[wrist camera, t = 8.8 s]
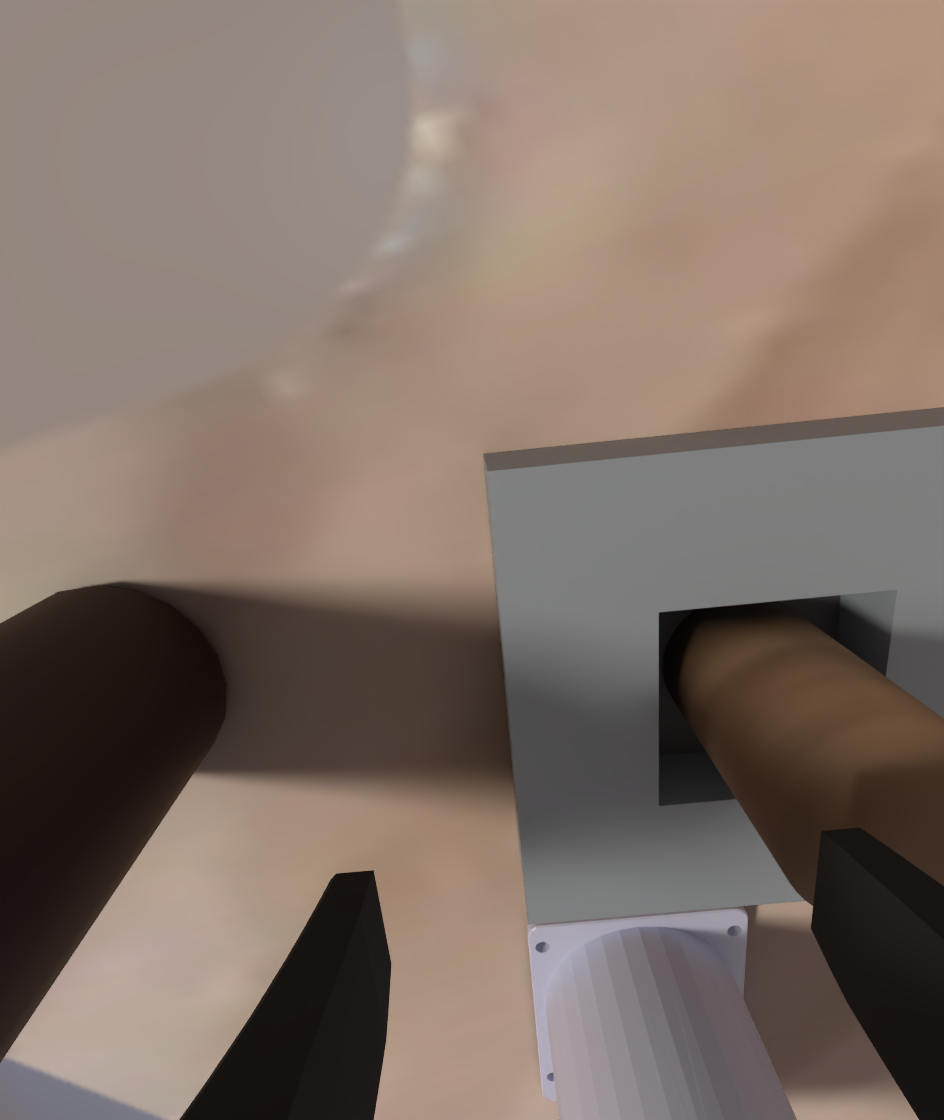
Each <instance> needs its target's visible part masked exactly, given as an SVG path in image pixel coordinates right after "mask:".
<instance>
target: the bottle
mask: <svg viewBox="0 0 944 1120" xmlns="http://www.w3.org/2000/svg"><path fill="white" fill-rule="evenodd" d="M226 685H227V684H226V681H225V678H224V675H223V672H222V669H221V666H220V663H219V660H218V657H217V654H216V653H215V651H214V650H213V649H212V647H211V646H210V644H209V643H208V642H207V640H206V639H205V637H204V636H203V635H202V633H201V632H200V631H199V629H198V628H197V627H196V626H195V625H194V624H192V623H191V622H190V621H189V620H187V619H186V618H185V617H184V616H182V615H181V614H180V613H178V612H177V611H176V610H175V609H173V608H172V607H171V606H170V605H168V604H166V603H163V602H161V601H159V600H156V599H154V598H152V597H149V596H147V595H145V594H142V593H140V592H138V591H135V590H129V589H121V588H114V587H107V586H100V585H98V586H92V587H85V588H79V589H73V590H67V591H60V592H57V593H55V594H54V595H52V596H50V597H48V598H46V599H44V600H42V601H41V602H39V603H37V604H35V605H33V606H31V607H29V608H28V609H26V610H24V611H22V612H20V613H18V614H17V615H15V616H13V617H11V618H9V619H8V620H6V621H4V622H2V623H0V1062H1V1061H2V1059H3V1058H4V1056H5V1055H6V1053H7V1052H8V1050H9V1049H10V1047H11V1046H12V1044H13V1043H14V1041H15V1040H16V1038H17V1037H18V1035H19V1034H20V1032H21V1031H22V1029H23V1028H24V1026H25V1025H26V1023H27V1022H28V1020H29V1019H30V1017H31V1016H32V1014H33V1013H34V1011H35V1010H36V1008H37V1007H38V1005H39V1004H40V1002H41V1001H42V999H43V998H44V996H45V995H46V993H47V992H48V990H49V989H50V987H51V986H52V984H53V983H54V981H55V980H56V978H57V977H58V975H59V974H60V972H61V971H62V969H63V968H64V966H65V965H66V963H67V962H68V960H69V959H70V957H71V956H72V954H73V953H74V951H75V950H76V948H77V947H78V945H79V944H80V942H81V941H82V939H83V938H84V936H85V935H86V933H87V932H88V930H89V929H90V928H91V926H92V925H93V923H94V922H95V920H96V919H97V917H98V916H99V914H100V913H101V911H102V910H103V908H104V907H105V905H106V904H107V902H108V901H109V899H110V898H111V896H112V895H113V893H114V892H115V890H116V889H117V887H118V886H119V884H120V883H121V881H122V880H123V878H124V877H125V875H126V874H127V872H128V871H129V869H130V868H131V866H132V865H133V863H134V862H135V860H136V859H137V857H138V856H139V854H140V853H141V851H142V850H143V848H144V847H145V845H146V844H147V842H148V841H149V839H150V838H151V836H152V835H153V833H154V832H155V830H156V829H157V827H158V826H159V824H160V823H161V821H162V820H163V818H164V817H165V815H166V814H167V812H168V811H169V809H170V808H171V806H172V805H173V803H174V802H175V800H176V799H177V797H178V796H179V794H180V793H181V791H182V790H183V788H184V787H185V785H186V784H187V782H188V781H189V779H190V778H191V776H192V775H193V773H194V772H195V770H196V769H197V767H198V766H199V764H200V763H201V761H202V760H203V758H204V757H205V755H206V754H207V752H208V751H209V749H210V748H211V746H212V745H213V743H214V741H215V739H216V736H217V734H218V732H219V730H220V727H221V725H222V723H223V720H224V718H225V713H226Z"/></svg>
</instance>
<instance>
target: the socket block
mask: <svg viewBox="0 0 944 1120" xmlns="http://www.w3.org/2000/svg"><path fill="white" fill-rule="evenodd" d="M483 456H484V466H485V477H486V488H487V499H488V510H489V521H490V532H491V543H492V554H493V565H494V576H495V586H496V597H497V608H498V619H499V630H500V641H501V652H502V663H503V674H504V685H505V695H506V706H507V717H508V728H509V739H510V750H511V761H512V772H513V783H514V794H515V804H516V815H517V826H518V837H519V848H520V857H521V866H522V874H523V883H524V891H525V900H526V909H527V917H528V925H529V924H541V923H552V922H564V921H576V920H587V919H599V918H610V917H622V916H633V915H645V914H657V913H668V912H680V911H691V910H703V909H715V908H726V907H738V906H749V905H761V904H773V903H784V902H796V901H805V900H804V899H803V898H802V897H801V896H800V895H799V894H798V893H797V892H796V891H795V889H794V888H793V887H792V885H791V884H790V883H789V881H788V879H787V878H786V876H785V875H784V873H783V872H782V870H781V868H780V867H779V865H778V864H777V862H776V861H775V859H774V857H773V856H772V854H771V853H770V851H769V850H768V848H767V846H766V845H765V843H764V842H763V840H762V839H761V837H760V835H759V834H758V832H757V831H756V829H755V828H754V826H753V824H752V823H751V821H750V820H749V818H748V817H747V815H746V813H745V812H744V810H743V809H742V807H741V806H740V804H739V802H738V801H737V799H736V798H735V796H734V795H733V793H732V791H731V790H730V788H729V787H728V785H727V784H726V782H725V780H724V779H723V777H722V776H721V774H720V772H719V771H718V769H717V768H716V766H715V765H714V763H713V761H712V760H711V758H710V757H709V755H708V754H707V752H706V750H705V749H704V747H703V746H702V744H701V743H700V741H699V739H698V738H697V736H696V735H695V733H694V732H693V730H692V728H691V727H690V725H689V724H688V722H687V721H686V719H685V717H684V716H683V714H682V713H681V711H680V710H679V708H678V706H677V705H676V703H675V702H674V700H673V699H672V697H671V695H670V693H669V691H668V689H667V687H666V684H665V681H664V675H663V660H664V654H665V650H666V647H667V644H668V642H669V639H670V638H671V636H672V634H673V632H674V631H675V629H676V628H677V627H678V625H679V624H680V623H681V622H682V621H683V620H684V619H685V618H686V617H687V616H688V615H689V614H690V613H691V612H693V611H694V610H695V609H699V608H710V607H720V606H731V605H741V604H752V603H762V602H773V601H781V602H783V603H784V604H786V605H787V606H789V607H790V608H792V609H793V610H794V611H796V612H797V613H798V614H800V615H801V616H803V617H804V618H805V619H807V620H808V621H810V622H811V623H812V624H814V625H815V626H816V627H818V628H819V629H821V630H822V631H823V632H825V633H826V634H828V635H829V636H830V637H832V638H833V639H834V640H836V641H837V642H839V643H840V644H841V645H843V646H844V647H845V648H847V649H848V650H850V651H851V652H852V653H854V654H855V655H857V656H858V657H859V658H861V659H862V660H863V661H865V662H866V663H868V664H869V665H870V666H872V667H873V668H874V669H876V670H877V671H879V672H880V673H881V674H883V675H884V676H886V677H887V678H888V679H890V680H891V681H892V682H894V683H895V684H897V685H898V686H899V687H901V688H902V689H904V690H905V691H906V692H908V693H909V694H910V695H912V696H913V697H915V698H916V699H917V700H919V701H920V702H921V703H923V704H924V705H926V706H927V707H928V708H930V709H931V710H933V711H934V712H935V713H937V714H938V715H939V716H941V717H942V718H944V407H943V408H933V409H924V410H914V411H904V412H894V413H884V414H874V415H864V416H854V417H844V418H834V419H824V420H814V421H804V422H794V423H784V424H775V425H765V426H755V427H745V428H735V429H725V430H715V431H705V432H695V433H685V434H675V435H665V436H655V437H645V438H635V439H626V440H616V441H606V442H596V443H586V444H576V445H566V446H556V447H546V448H536V449H526V450H516V451H506V452H496V453H486V454H483Z"/></svg>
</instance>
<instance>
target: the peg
mask: <svg viewBox="0 0 944 1120" xmlns="http://www.w3.org/2000/svg"><path fill="white" fill-rule="evenodd" d="M663 675H664V681H665V684H666V687H667V689H668V691H669V693H670V695H671V697H672V699H673V700H674V702H675V703H676V705H677V706H678V708H679V710H680V711H681V713H682V714H683V716H684V717H685V719H686V721H687V722H688V724H689V725H690V727H691V728H692V730H693V732H694V733H695V735H696V736H697V738H698V739H699V741H700V743H701V744H702V746H703V747H704V749H705V750H706V752H707V754H708V755H709V757H710V758H711V760H712V761H713V763H714V765H715V766H716V768H717V769H718V771H719V772H720V774H721V776H722V777H723V779H724V780H725V782H726V784H727V785H728V787H729V788H730V790H731V791H732V793H733V795H734V796H735V798H736V799H737V801H738V802H739V804H740V806H741V807H742V809H743V810H744V812H745V813H746V815H747V817H748V818H749V820H750V821H751V823H752V824H753V826H754V828H755V829H756V831H757V832H758V834H759V835H760V837H761V839H762V840H763V842H764V843H765V845H766V846H767V848H768V850H769V851H770V853H771V854H772V856H773V857H774V859H775V861H776V862H777V864H778V865H779V867H780V868H781V870H782V872H783V873H784V875H785V876H786V878H787V879H788V881H789V883H790V884H791V885H792V887H793V888H794V889H795V891H796V892H797V893H798V894H799V895H800V896H801V897H802V898H803V899H804V900H805V901H807V902H808V903H810V904H811V905H814V895H815V885H816V876H817V866H818V857H819V847H820V837H821V831H825V830H836V829H848V828H859V827H860V828H861V829H863V830H864V831H866V832H867V833H869V834H870V835H872V836H873V837H875V838H876V839H878V840H879V841H881V842H882V843H883V844H885V845H886V846H888V847H889V848H891V849H892V850H893V851H895V852H896V853H898V854H899V855H901V856H902V857H903V858H905V859H906V860H908V861H909V862H910V863H912V864H913V865H915V866H916V867H918V868H919V869H920V870H922V871H923V872H925V873H926V874H927V875H929V876H930V877H932V878H933V879H934V880H936V881H937V882H939V883H940V884H942V885H943V886H944V718H942V717H941V716H939V715H938V714H937V713H935V712H934V711H933V710H931V709H930V708H928V707H927V706H926V705H924V704H923V703H921V702H920V701H919V700H917V699H916V698H915V697H913V696H912V695H910V694H909V693H908V692H906V691H905V690H904V689H902V688H901V687H899V686H898V685H897V684H895V683H894V682H892V681H891V680H890V679H888V678H887V677H886V676H884V675H883V674H881V673H880V672H879V671H877V670H876V669H874V668H873V667H872V666H870V665H869V664H868V663H866V662H865V661H863V660H862V659H861V658H859V657H858V656H857V655H855V654H854V653H852V652H851V651H850V650H848V649H847V648H845V647H844V646H843V645H841V644H840V643H839V642H837V641H836V640H834V639H833V638H832V637H830V636H829V635H828V634H826V633H825V632H823V631H822V630H821V629H819V628H818V627H816V626H815V625H814V624H812V623H811V622H810V621H808V620H807V619H805V618H804V617H803V616H801V615H800V614H798V613H797V612H796V611H794V610H793V609H792V608H790V607H789V606H787V605H786V604H784V603H783V602H781V601H773V602H762V603H752V604H741V605H731V606H720V607H710V608H699V609H695V610H694V611H693V612H691V613H690V614H689V615H688V616H687V617H686V618H685V619H684V620H683V621H682V622H681V623H680V624H679V625H678V627H677V628H676V629H675V631H674V632H673V634H672V636H671V638H670V639H669V642H668V644H667V647H666V650H665V654H664V660H663Z"/></svg>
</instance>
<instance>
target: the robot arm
mask: <svg viewBox="0 0 944 1120" xmlns="http://www.w3.org/2000/svg"><path fill="white" fill-rule="evenodd" d="M811 929H812V931H813V933H814V935H815V938H816V940H817V942H818V944H819V946H820V948H821V950H822V952H823V955H824V957H825V959H826V961H827V963H828V965H829V967H830V969H831V971H832V973H833V975H834V977H835V979H836V981H837V983H838V985H839V987H840V989H841V991H842V993H843V995H844V997H845V999H846V1001H847V1003H848V1005H849V1006H850V1008H851V1010H852V1011H853V1013H854V1015H855V1016H856V1018H857V1020H858V1021H859V1023H860V1024H861V1026H862V1028H863V1029H864V1031H865V1033H866V1034H867V1036H868V1038H869V1039H870V1041H871V1042H872V1044H873V1046H874V1047H875V1049H876V1051H877V1052H878V1054H879V1056H880V1057H881V1059H882V1060H883V1062H884V1064H885V1065H886V1067H887V1069H888V1070H889V1072H890V1073H891V1075H892V1077H893V1078H894V1080H895V1081H896V1083H897V1085H898V1086H899V1088H900V1090H901V1091H902V1093H903V1094H904V1096H905V1098H906V1099H907V1101H908V1102H909V1104H910V1106H911V1107H912V1109H913V1110H914V1112H915V1114H916V1115H917V1117H918V1119H919V1120H944V886H943V885H942V884H940V883H939V882H937V881H936V880H934V879H933V878H932V877H930V876H929V875H927V874H926V873H925V872H923V871H922V870H920V869H919V868H918V867H916V866H915V865H913V864H912V863H910V862H909V861H908V860H906V859H905V858H903V857H902V856H901V855H899V854H898V853H896V852H895V851H893V850H892V849H891V848H889V847H888V846H886V845H885V844H883V843H882V842H881V841H879V840H878V839H876V838H875V837H873V836H872V835H870V834H869V833H867V832H866V831H864V830H863V829H861V828H860V827H859V828H848V829H836V830H825V831H821V837H820V847H819V857H818V866H817V876H816V885H815V895H814V905H813V914H812V924H811ZM747 932H748V914H747V912H746V910H745V908H744V907H743V906H738V907H726V908H715V909H703V910H691V911H680V912H668V913H657V914H645V915H633V916H622V917H610V918H599V919H587V920H576V921H564V922H552V923H541V924H529V925H528V927H527V934H528V945H529V956H530V967H531V978H532V989H533V999H534V1010H535V1021H536V1032H537V1043H538V1054H539V1065H540V1076H541V1086H542V1094H543V1096H544V1097H545V1098H546V1099H548V1100H550V1101H557V1105H558V1113H559V1120H797V1119H796V1116H795V1114H794V1112H793V1110H792V1107H791V1105H790V1103H789V1101H788V1098H787V1096H786V1094H785V1092H784V1089H783V1087H782V1085H781V1083H780V1080H779V1078H778V1076H777V1074H776V1071H775V1069H774V1067H773V1065H772V1062H771V1060H770V1058H769V1056H768V1053H767V1051H766V1049H765V1047H764V1044H763V1042H762V1040H761V1038H760V1035H759V1033H758V1031H757V1028H756V1026H755V1024H754V1022H753V1019H752V1017H751V1015H750V1013H749V1010H748V1008H747V1006H746V1004H745V1001H744V999H743V997H744V981H745V965H746V948H747ZM540 942H543V943H540ZM390 977H391V960H390V955H389V949H388V944H387V939H386V934H385V928H384V923H383V918H382V913H381V907H380V902H379V897H378V892H377V886H376V881H375V876H374V870H373V871H362V872H350V873H339V874H336V875H335V876H334V877H333V878H332V879H331V880H330V882H329V884H328V886H327V888H326V889H325V891H324V893H323V895H322V897H321V899H320V901H319V902H318V904H317V906H316V908H315V910H314V911H313V913H312V915H311V917H310V919H309V920H308V922H307V924H306V926H305V927H304V929H303V931H302V933H301V934H300V936H299V938H298V940H297V941H296V943H295V945H294V946H293V948H292V950H291V952H290V953H289V955H288V957H287V958H286V960H285V962H284V963H283V965H282V967H281V968H280V970H279V971H278V973H277V975H276V976H275V978H274V979H273V981H272V983H271V984H270V986H269V988H268V989H267V991H266V992H265V994H264V996H263V997H262V999H261V1000H260V1002H259V1004H258V1005H257V1007H256V1009H255V1010H254V1012H253V1013H252V1015H251V1016H250V1018H249V1019H248V1021H247V1023H246V1024H245V1026H244V1027H243V1029H242V1030H241V1032H240V1033H239V1034H238V1036H237V1037H236V1039H235V1040H234V1042H233V1043H232V1045H231V1046H230V1048H229V1049H228V1051H227V1052H226V1054H225V1055H224V1057H223V1058H222V1060H221V1061H220V1063H219V1064H218V1066H217V1067H216V1068H215V1070H214V1071H213V1073H212V1074H211V1076H210V1077H209V1079H208V1080H207V1082H206V1083H205V1085H204V1086H203V1088H202V1089H201V1090H200V1092H199V1093H198V1095H197V1096H196V1097H195V1099H194V1100H193V1102H192V1103H191V1104H190V1106H189V1107H188V1109H187V1110H186V1111H185V1113H184V1114H183V1115H182V1117H181V1118H180V1120H374V1114H375V1108H376V1101H377V1095H378V1089H379V1082H380V1076H381V1070H382V1063H383V1057H384V1050H385V1044H386V1035H387V1021H388V1008H389V993H390Z"/></svg>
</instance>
